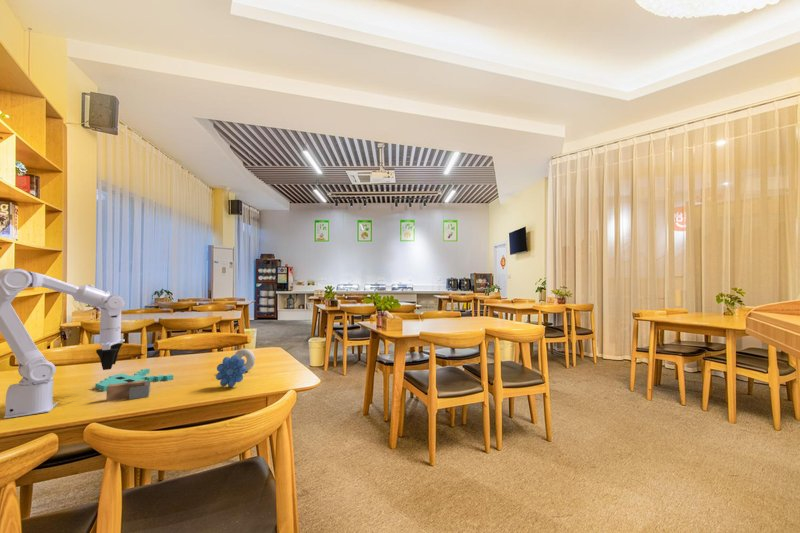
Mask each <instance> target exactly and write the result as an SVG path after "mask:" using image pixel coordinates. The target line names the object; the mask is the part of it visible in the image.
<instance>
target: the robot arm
mask: <svg viewBox="0 0 800 533" xmlns="http://www.w3.org/2000/svg"><path fill="white" fill-rule="evenodd" d="M39 287H40V288H41V287H42V288H45V289H49V290H53V291H56V292H59V293H63V294H66V295H71V296H72V298H73V300H74V301H76V302H77V303H78V302H79V303H83V304H85V305H89V306H92V307H96V308H99V309H100V317H99V341H98V344H99V345H100V346H101V348H100V349H98V348H97V349H96V350H95V353H96V355H97V356H98V357H99V359H100V364H101V368H102V370H103V371H107V370H108V371H109V370H111V369H112V368H113V365H116V362H117V359H118V355H119V351H120V350H121V347H122V346H123V343H124V342H125V339H124V338H123V339H122V338H121V337H122V336H121V335H122V309H123V308H124V307H125V305H126V301H125V299H124V298H123V297H122V296H121V295H119V294H112V293H111V291H110V290H101V289H99V288H96V286H95V285H93V284H88V285H87V284H82V285H79V286H77V285H75V284H72V283H68V282H66V281H63V280H60V279H58V278H55V277H52V276H49V275H46V274H43V273H39V272H36V271H28V270H25V269H23V268H3V269H0V334H1V336H2V337H3V339H4V340H5V342H6V343H7V345H8V346H9V348H10V350H11V352H12V353H13V355H14V357H15V360H16V363H17V364H18V370H17V372H18V375H20V377H21V379H20V380H19V381H18V383H13V384H10V385H9V386H8V388H7V390H6V393H5V410H4V417H3V419H10V418H17V417H22V416H31V415H36V414H42V413H43V414H44V413H49V412H51V410H52V409H54V408H55V407H56V406H57V405H58V402H53V397H54V396H53V393H54V375H55V373H56V371H57V369H56V368H57V367H56V366H55V364H54V363H53V362H51V361H49V360H47V359H46V358H45V355H44V354H43V353H42V352H41V351H40V350H39V348H38V346H36V343H35V342H34V340H33V338H32V337H31V335H30V334H29V331H28V330H27V328H26V327H25V326H24V323H23V322H22V320H21V319H20V317H19V316H18V314H17V311H16V310H15V309H14V307H13V305H12V302H13V300H14V299H15V298H16V297H17V295H18V294H19V293H21V292H23V291H24V290H25V289H26V288H39Z"/></svg>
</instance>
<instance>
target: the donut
mask: <svg viewBox="0 0 800 533" xmlns="http://www.w3.org/2000/svg"><path fill="white" fill-rule="evenodd" d="M234 355H237V356H238V358H239V359H243V357H245V359H246V362H245V363H244V365H243V366H245V367H246V368H247V370H246V372H248V371H250V370H252V368H253V367H254V365H255V362H256V355H255V354H254V352H253V351H252V350H250V349H249V348H246V347H245V348H240V349H238V350H237V351H236V352H235V353H234ZM239 359H238V360H239Z"/></svg>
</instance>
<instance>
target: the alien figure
mask: <svg viewBox="0 0 800 533" xmlns="http://www.w3.org/2000/svg"><path fill="white" fill-rule="evenodd" d="M147 374H148V376H147ZM149 374H150V368H142V369H140V370H139V371H137V372H136V373H134V374H133V375H128V374H125V373H118V374H113V375H108V377H107V378H104V379H103V380H100V381H99V382H97V383H95V386H94V388H96V390H99V391H102V392H107V386H108V385H111V384H119V383H127V382H135V381H143V380H145V381H150V383H151V382H163V381H167V382H169V381H172V380H174V374H172V373H171V374H164V375H163V374H159V375H149Z"/></svg>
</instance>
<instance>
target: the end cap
mask: <svg viewBox="0 0 800 533" xmlns="http://www.w3.org/2000/svg"><path fill="white" fill-rule="evenodd" d="M150 393H151V382H150V381H145V385H139V386H132V387H130V391H129V398H128V400H137V399H143V398H149V397H150Z"/></svg>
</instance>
